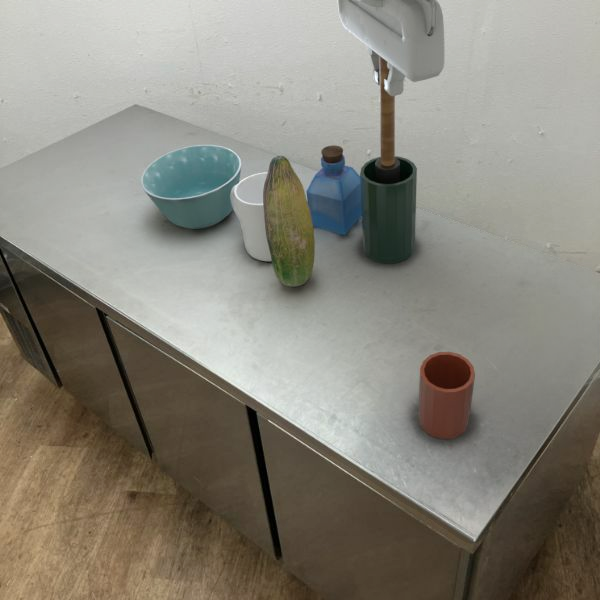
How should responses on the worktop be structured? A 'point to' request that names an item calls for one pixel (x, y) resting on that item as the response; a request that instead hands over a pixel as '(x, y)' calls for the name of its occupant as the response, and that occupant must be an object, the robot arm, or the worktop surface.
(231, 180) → the bowl
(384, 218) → the cup
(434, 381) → the holder
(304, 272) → the vegetable
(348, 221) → the perfume bottle
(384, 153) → the wooden dowel rod
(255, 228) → the mug
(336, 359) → the worktop surface
